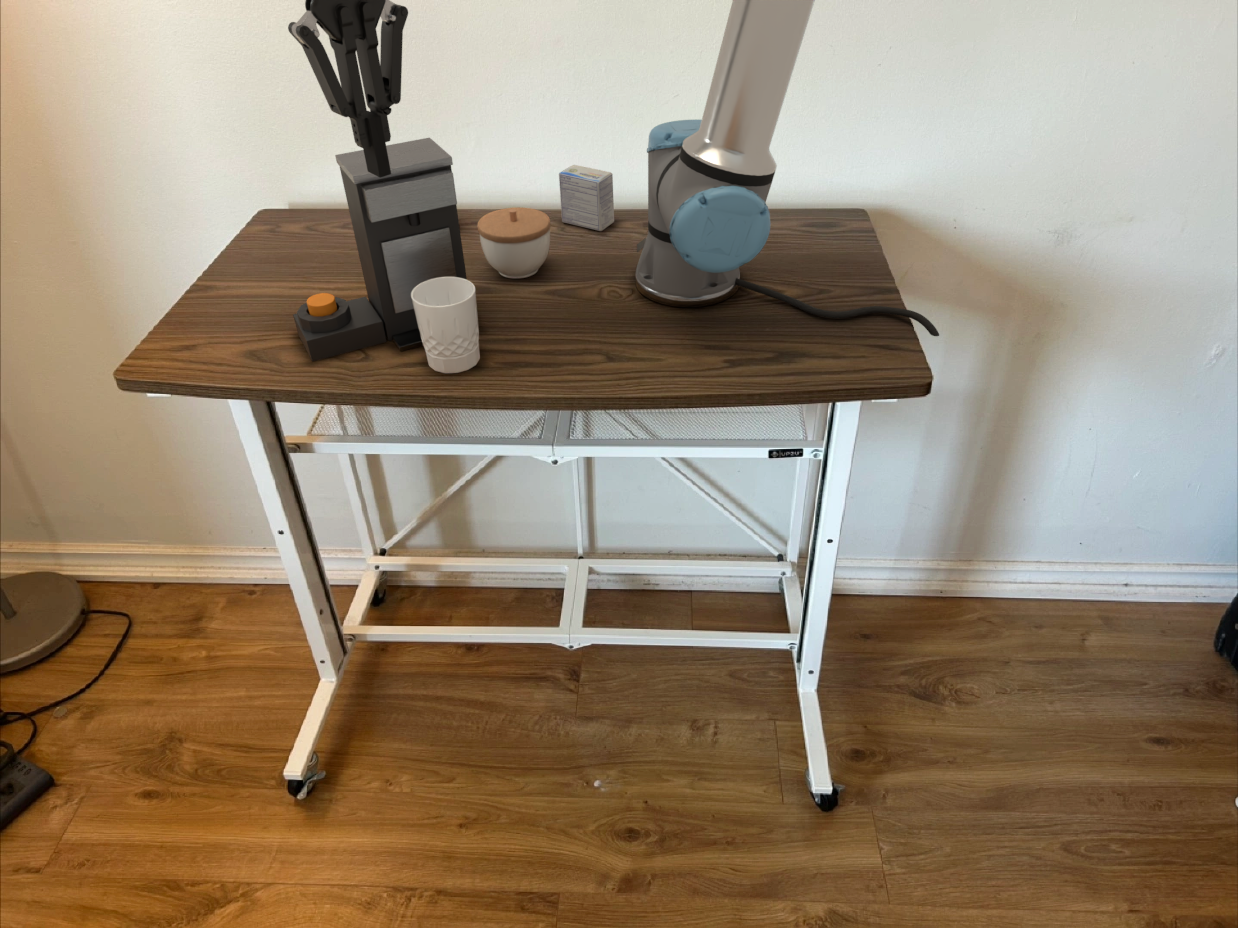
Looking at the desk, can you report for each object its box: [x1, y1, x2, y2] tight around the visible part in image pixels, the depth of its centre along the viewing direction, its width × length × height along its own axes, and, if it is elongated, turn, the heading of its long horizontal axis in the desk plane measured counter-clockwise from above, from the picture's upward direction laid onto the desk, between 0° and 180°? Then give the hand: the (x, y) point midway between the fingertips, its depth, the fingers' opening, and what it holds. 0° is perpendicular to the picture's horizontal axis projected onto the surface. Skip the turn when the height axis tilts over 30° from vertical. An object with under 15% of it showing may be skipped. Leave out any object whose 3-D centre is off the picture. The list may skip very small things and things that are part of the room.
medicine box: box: [558, 164, 615, 232], centre depth 146 cm, size 8×4×9 cm, turn 58°
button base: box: [292, 296, 388, 362], centre depth 119 cm, size 10×8×5 cm
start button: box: [306, 292, 337, 316], centre depth 117 cm, size 4×4×2 cm
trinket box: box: [477, 206, 551, 279], centre depth 133 cm, size 11×11×9 cm
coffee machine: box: [334, 137, 468, 353], centre depth 117 cm, size 12×12×23 cm
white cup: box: [411, 277, 481, 374], centre depth 113 cm, size 8×8×10 cm
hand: (379, 172), depth 102 cm, fingers closed
